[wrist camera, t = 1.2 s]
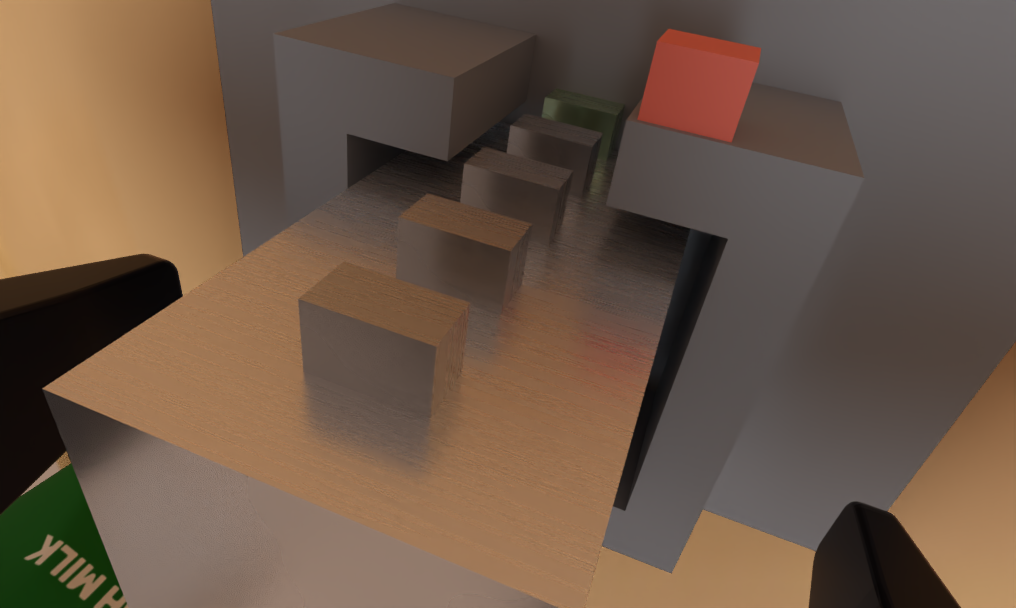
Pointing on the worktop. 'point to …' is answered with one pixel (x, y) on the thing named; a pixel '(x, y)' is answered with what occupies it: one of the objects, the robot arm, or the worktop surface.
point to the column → (390, 390)
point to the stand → (705, 209)
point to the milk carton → (55, 550)
